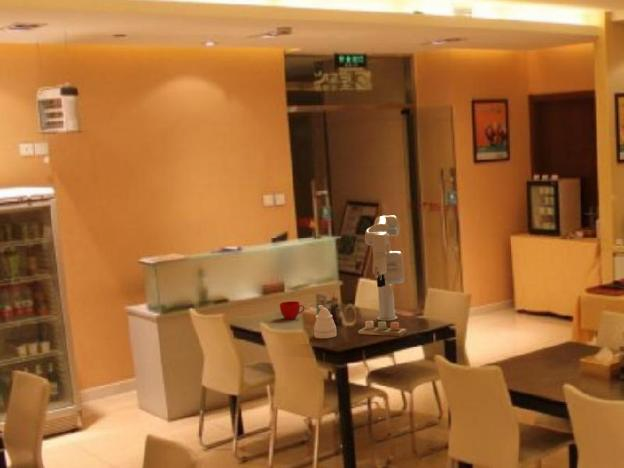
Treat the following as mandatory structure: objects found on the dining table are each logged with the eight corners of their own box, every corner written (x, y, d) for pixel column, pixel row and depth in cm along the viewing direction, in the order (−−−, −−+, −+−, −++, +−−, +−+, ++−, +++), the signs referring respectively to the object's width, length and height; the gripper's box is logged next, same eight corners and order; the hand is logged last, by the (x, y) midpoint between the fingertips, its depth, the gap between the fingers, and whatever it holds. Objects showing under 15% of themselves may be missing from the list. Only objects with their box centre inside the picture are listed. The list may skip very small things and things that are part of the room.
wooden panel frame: (366, 330, 513) (365, 326, 513) (406, 332, 500) (406, 328, 500) (358, 333, 504) (358, 330, 504) (399, 336, 491) (399, 332, 491)
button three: (392, 328, 501) (392, 321, 501) (400, 329, 499) (400, 321, 498) (389, 330, 497) (389, 323, 497) (397, 330, 495) (396, 323, 494)
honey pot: (318, 339, 497) (316, 308, 495) (311, 335, 509) (309, 304, 507) (339, 336, 500) (337, 305, 499) (332, 332, 513) (330, 302, 511)
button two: (380, 328, 505) (379, 321, 505) (387, 328, 503) (387, 321, 502) (376, 329, 501) (376, 322, 500) (384, 330, 499) (383, 323, 498)
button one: (367, 327, 509) (367, 320, 509) (375, 327, 507) (374, 320, 506) (364, 329, 505) (363, 322, 504) (371, 329, 502) (371, 322, 502)
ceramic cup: (300, 320, 553) (299, 305, 552) (277, 320, 561) (276, 304, 560) (309, 316, 565) (308, 301, 564) (286, 316, 572) (285, 301, 571)
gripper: (379, 253, 508) (381, 284, 510) (367, 256, 494) (369, 288, 496) (391, 253, 505) (393, 284, 506) (379, 256, 490) (381, 289, 492)
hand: (381, 286), depth 501 cm, fingers closed
